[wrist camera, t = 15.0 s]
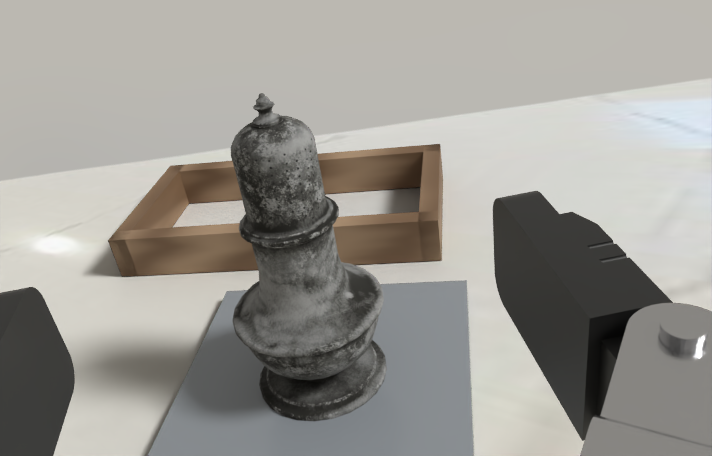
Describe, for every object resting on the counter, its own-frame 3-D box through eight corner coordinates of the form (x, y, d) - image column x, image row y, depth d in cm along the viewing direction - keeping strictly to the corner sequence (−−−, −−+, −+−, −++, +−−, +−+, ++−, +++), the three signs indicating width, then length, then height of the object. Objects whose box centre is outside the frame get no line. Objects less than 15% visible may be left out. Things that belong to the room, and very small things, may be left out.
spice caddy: (122, 276, 37) (108, 240, 36) (180, 197, 45) (170, 165, 44) (441, 260, 34) (437, 220, 33) (442, 178, 42) (440, 143, 41)
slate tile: (134, 504, 23) (129, 493, 23) (229, 300, 34) (227, 291, 33) (476, 509, 21) (475, 497, 21) (467, 290, 32) (466, 280, 31)
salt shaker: (226, 377, 28) (139, 107, 22) (334, 310, 31) (283, 56, 25) (308, 453, 24) (229, 145, 18) (424, 367, 27) (389, 78, 21)
